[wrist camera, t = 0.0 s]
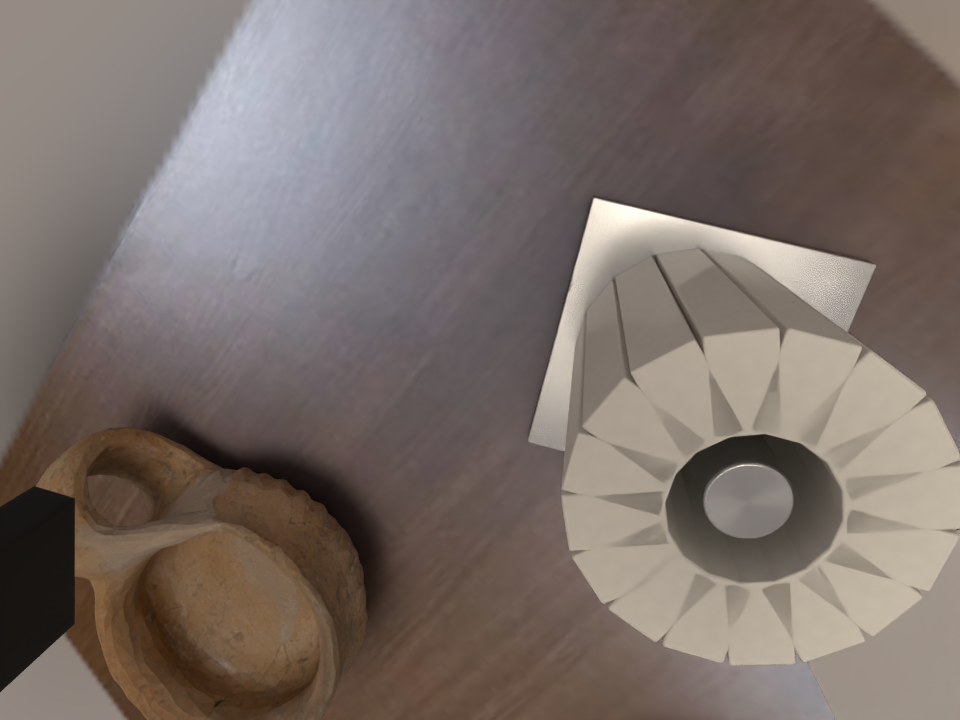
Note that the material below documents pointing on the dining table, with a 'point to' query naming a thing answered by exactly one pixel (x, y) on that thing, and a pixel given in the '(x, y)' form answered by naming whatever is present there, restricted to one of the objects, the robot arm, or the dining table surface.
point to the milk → (902, 661)
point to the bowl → (214, 584)
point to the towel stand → (646, 233)
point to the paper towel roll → (794, 442)
